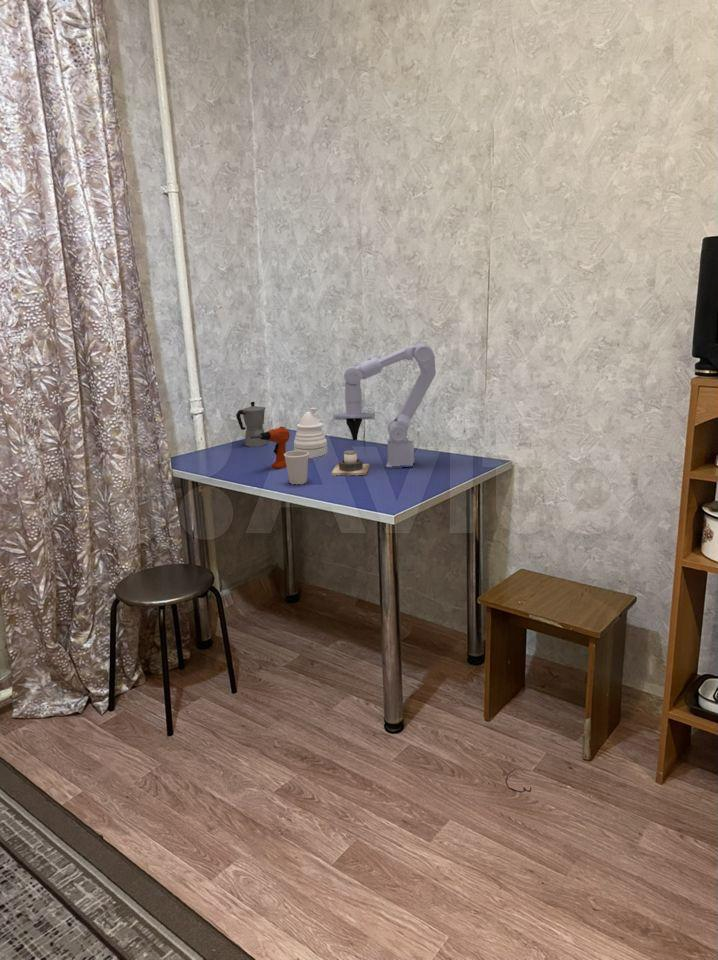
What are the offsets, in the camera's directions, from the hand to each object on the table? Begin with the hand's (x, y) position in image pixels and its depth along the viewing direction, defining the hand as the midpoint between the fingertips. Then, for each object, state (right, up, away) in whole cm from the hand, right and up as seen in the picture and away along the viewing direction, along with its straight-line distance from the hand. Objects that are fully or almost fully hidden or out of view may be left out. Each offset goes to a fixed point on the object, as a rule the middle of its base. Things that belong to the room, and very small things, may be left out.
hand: (355, 439), depth 249 cm
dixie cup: (-19, -15, -14) cm, 28 cm away
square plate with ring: (-1, -11, -3) cm, 12 cm away
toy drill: (-30, -11, +4) cm, 32 cm away
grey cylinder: (-1, -10, -3) cm, 11 cm away
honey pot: (-17, -5, +23) cm, 29 cm away
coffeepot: (-42, 0, +42) cm, 59 cm away
